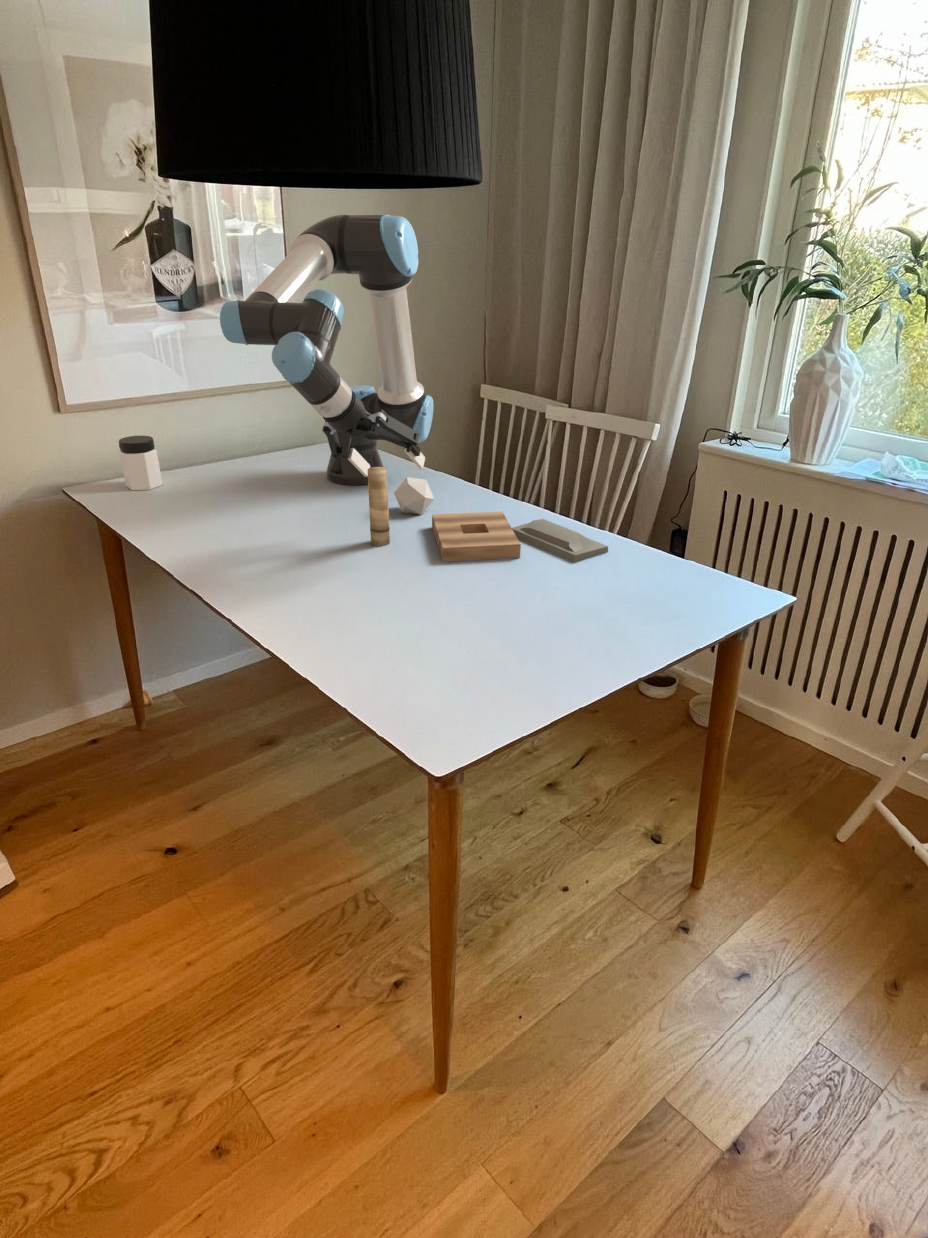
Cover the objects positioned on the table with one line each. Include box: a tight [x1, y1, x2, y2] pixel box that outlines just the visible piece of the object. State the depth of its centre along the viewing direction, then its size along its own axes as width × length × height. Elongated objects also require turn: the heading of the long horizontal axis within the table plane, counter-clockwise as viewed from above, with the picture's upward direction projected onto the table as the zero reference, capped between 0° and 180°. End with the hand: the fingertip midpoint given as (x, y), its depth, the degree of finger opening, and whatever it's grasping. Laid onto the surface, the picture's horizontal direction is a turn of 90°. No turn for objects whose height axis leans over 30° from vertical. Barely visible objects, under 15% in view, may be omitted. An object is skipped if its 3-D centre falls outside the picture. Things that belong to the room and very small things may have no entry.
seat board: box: [431, 511, 522, 563], centre depth 170 cm, size 20×16×3 cm
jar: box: [118, 435, 163, 492], centre depth 201 cm, size 9×8×12 cm
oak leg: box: [367, 467, 391, 547], centre depth 166 cm, size 4×4×16 cm
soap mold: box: [511, 518, 609, 564], centre depth 170 cm, size 10×20×4 cm, turn 39°
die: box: [393, 476, 435, 516], centre depth 186 cm, size 8×9×10 cm
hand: (394, 467), depth 166 cm, fingers open, 13 cm apart
